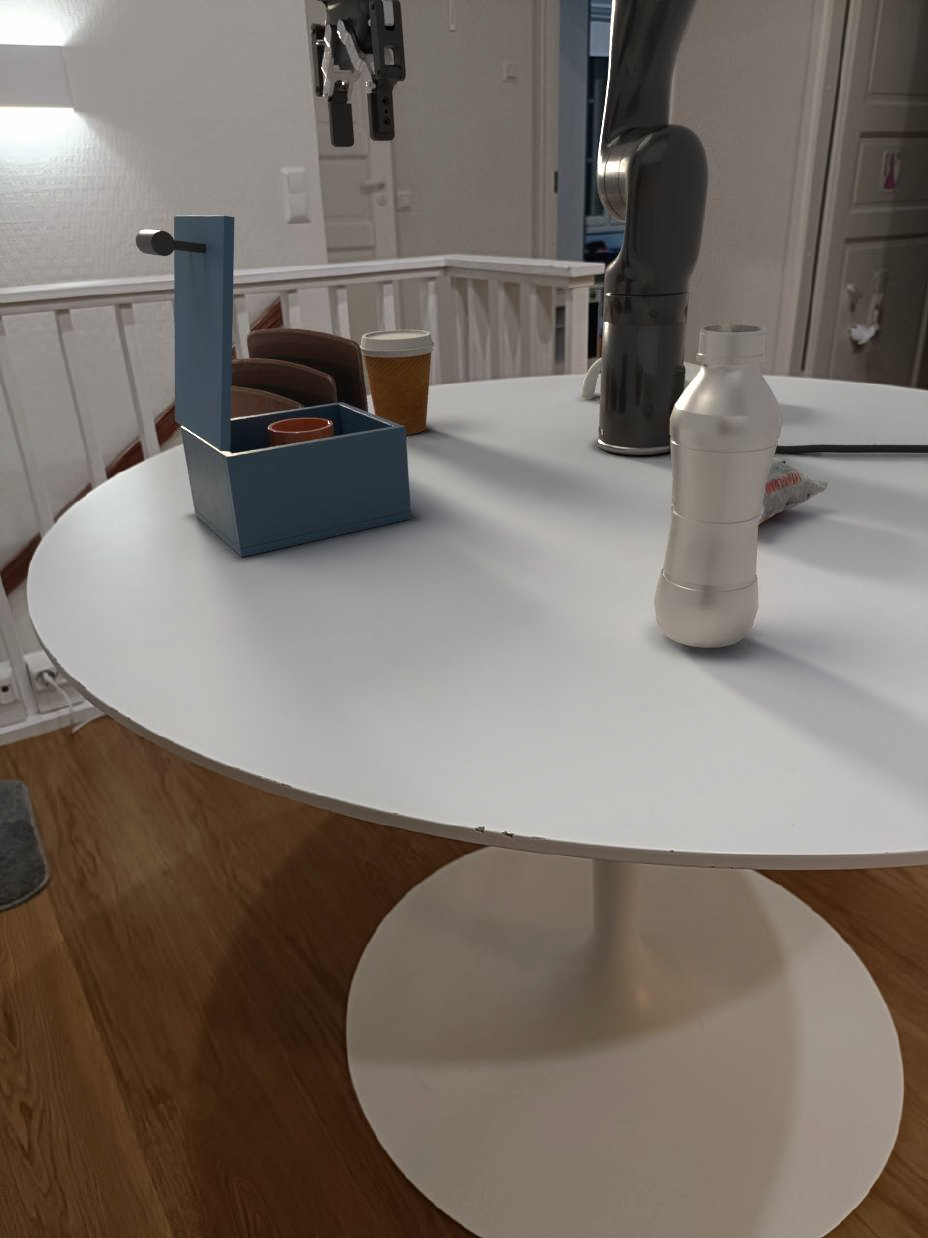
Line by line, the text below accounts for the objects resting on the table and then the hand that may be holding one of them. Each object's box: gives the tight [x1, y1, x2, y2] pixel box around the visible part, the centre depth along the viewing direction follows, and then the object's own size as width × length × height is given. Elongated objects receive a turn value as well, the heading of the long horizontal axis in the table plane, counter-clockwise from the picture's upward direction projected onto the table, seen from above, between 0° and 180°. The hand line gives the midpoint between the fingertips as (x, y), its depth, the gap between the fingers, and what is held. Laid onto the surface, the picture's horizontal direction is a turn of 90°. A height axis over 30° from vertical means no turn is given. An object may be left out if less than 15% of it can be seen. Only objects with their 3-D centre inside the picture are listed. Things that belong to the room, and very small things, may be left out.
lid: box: [135, 215, 235, 451], centre depth 72 cm, size 18×14×5 cm
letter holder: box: [231, 327, 369, 419], centre depth 102 cm, size 10×20×14 cm, turn 51°
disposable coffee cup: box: [359, 329, 436, 436], centre depth 113 cm, size 10×10×12 cm
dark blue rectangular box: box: [179, 402, 412, 558], centre depth 82 cm, size 17×14×9 cm
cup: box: [268, 418, 334, 447], centre depth 83 cm, size 6×6×8 cm
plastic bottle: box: [653, 323, 784, 649], centre depth 55 cm, size 6×7×20 cm
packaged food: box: [759, 458, 829, 525], centre depth 80 cm, size 9×12×5 cm
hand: (361, 143), depth 83 cm, fingers open, 8 cm apart
